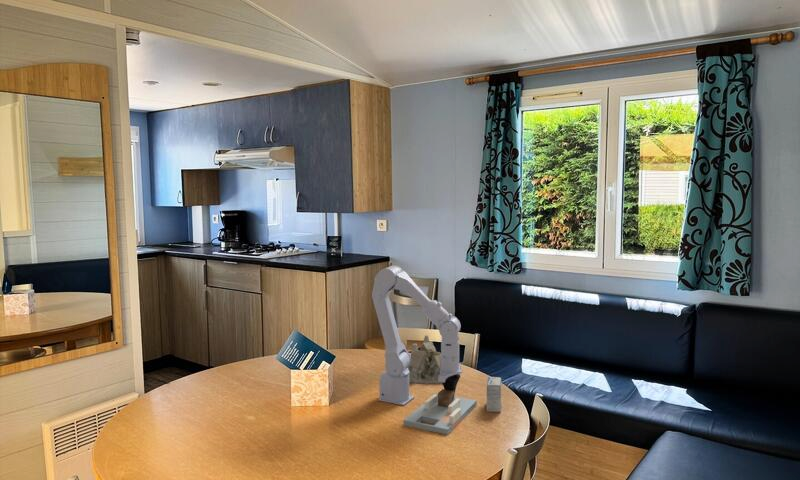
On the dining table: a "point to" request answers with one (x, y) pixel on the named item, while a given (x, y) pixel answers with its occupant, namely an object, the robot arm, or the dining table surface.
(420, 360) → the ceramic cottage
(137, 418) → the dining table surface
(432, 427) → the deck
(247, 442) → the dining table surface
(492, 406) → the medicine box
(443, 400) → the block
